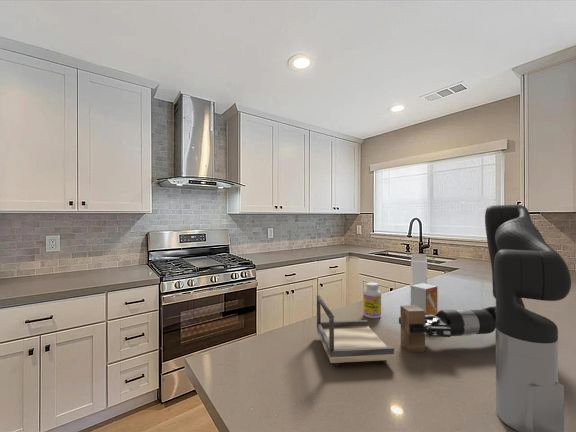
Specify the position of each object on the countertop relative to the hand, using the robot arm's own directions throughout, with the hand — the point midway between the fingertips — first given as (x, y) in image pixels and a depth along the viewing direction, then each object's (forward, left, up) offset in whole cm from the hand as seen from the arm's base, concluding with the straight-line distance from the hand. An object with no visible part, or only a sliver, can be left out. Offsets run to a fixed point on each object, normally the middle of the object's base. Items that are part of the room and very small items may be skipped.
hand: (404, 324), depth 85 cm
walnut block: (0, -3, -7) cm, 7 cm away
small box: (+21, -19, -7) cm, 29 cm away
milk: (+42, -29, -7) cm, 51 cm away
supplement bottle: (+27, -1, -7) cm, 28 cm away
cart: (0, +16, -7) cm, 18 cm away
